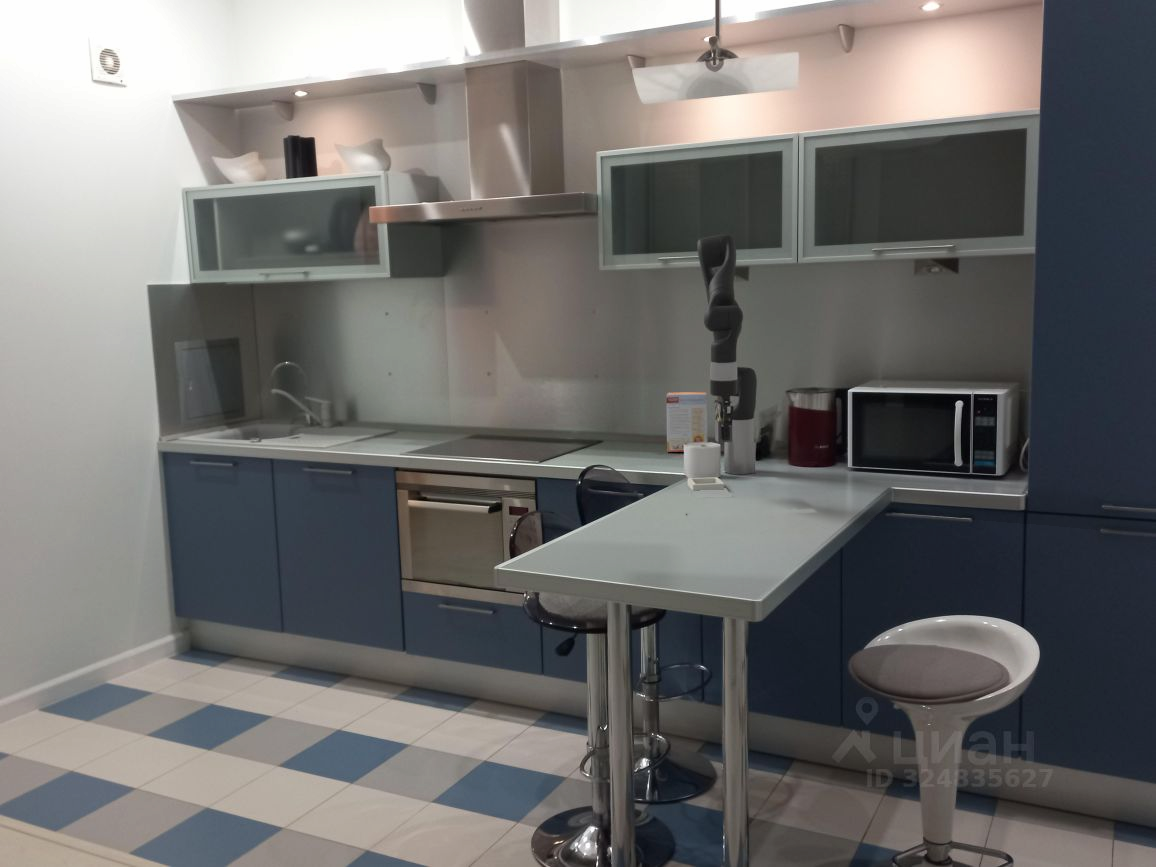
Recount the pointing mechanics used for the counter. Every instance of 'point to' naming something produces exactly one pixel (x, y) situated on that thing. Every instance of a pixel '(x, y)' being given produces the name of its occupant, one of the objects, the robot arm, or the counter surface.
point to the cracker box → (686, 419)
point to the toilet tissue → (702, 460)
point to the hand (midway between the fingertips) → (723, 438)
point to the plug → (719, 431)
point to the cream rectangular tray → (705, 484)
